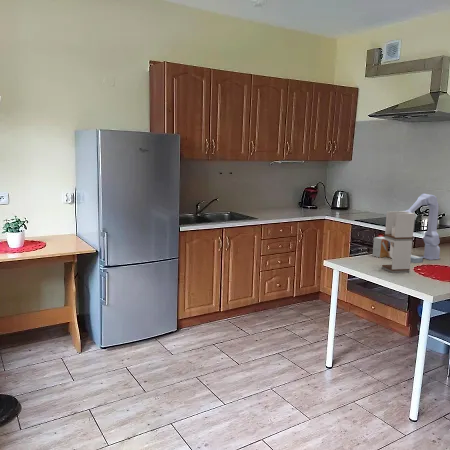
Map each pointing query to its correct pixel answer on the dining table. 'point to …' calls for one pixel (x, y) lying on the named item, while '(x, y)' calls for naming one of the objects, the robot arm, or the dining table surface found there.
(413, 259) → the pad
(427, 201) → the robot arm
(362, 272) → the dining table surface
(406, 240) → the coffee grinder
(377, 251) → the small box
